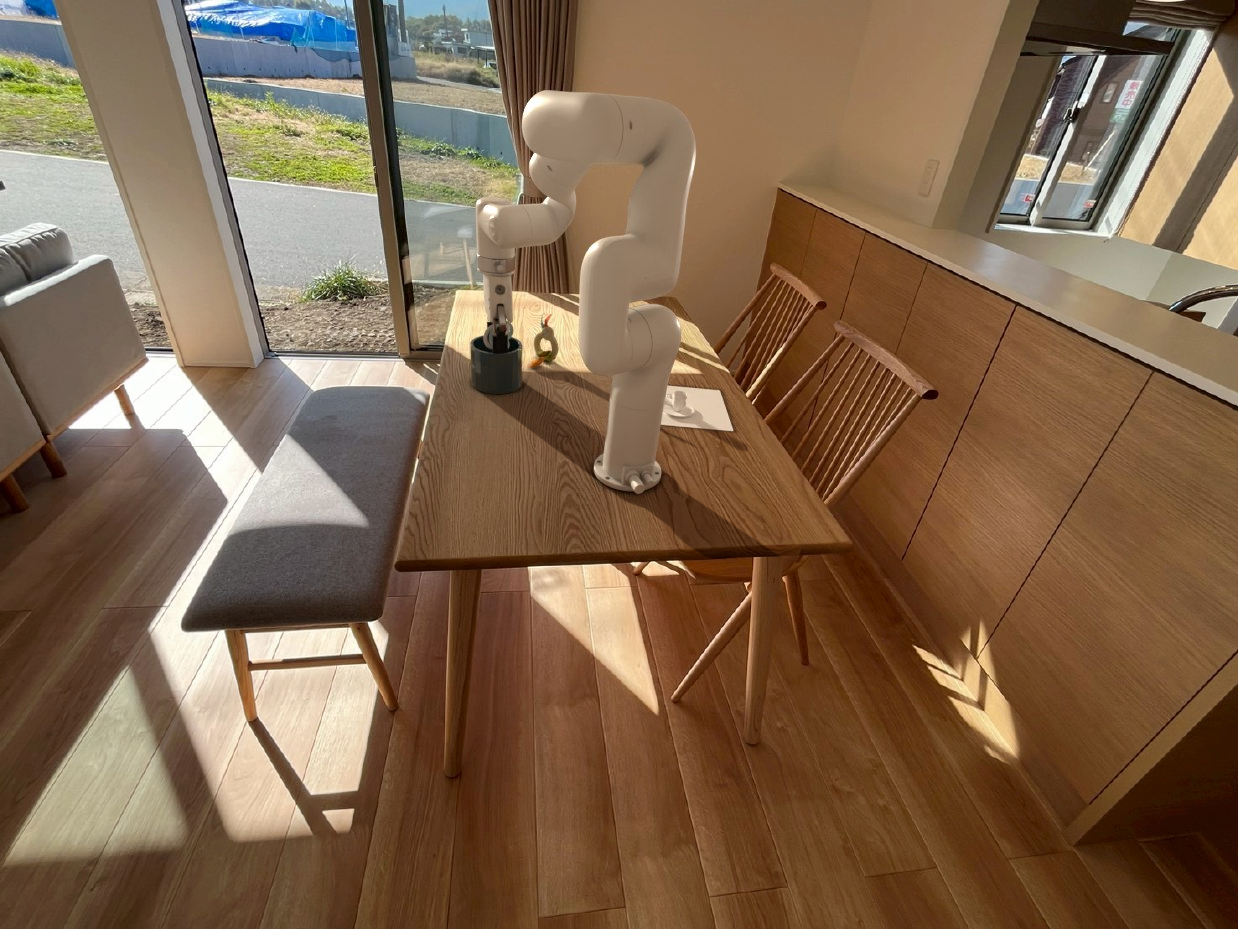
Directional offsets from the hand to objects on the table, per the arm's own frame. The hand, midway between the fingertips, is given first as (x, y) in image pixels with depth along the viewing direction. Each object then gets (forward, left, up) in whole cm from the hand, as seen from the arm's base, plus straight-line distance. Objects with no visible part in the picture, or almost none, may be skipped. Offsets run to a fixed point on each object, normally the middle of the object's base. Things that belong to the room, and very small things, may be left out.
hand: (497, 345), depth 131 cm
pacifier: (+1, 0, +1) cm, 1 cm away
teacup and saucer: (-16, -40, -10) cm, 44 cm away
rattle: (+11, -12, -10) cm, 19 cm away
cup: (0, 0, -9) cm, 9 cm away
